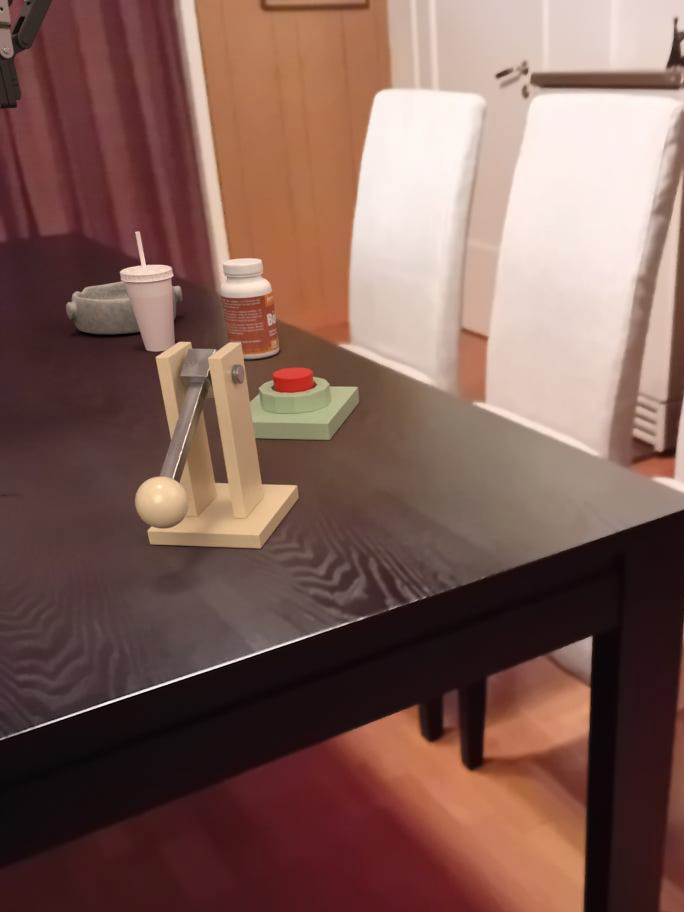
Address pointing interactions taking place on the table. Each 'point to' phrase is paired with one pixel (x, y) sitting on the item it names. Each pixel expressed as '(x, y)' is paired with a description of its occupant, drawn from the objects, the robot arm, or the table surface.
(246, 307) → the pill bottle
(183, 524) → the switch
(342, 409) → the stop panel
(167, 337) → the smoothie
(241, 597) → the table surface
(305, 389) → the stop button
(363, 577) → the table surface
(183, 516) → the switch lever
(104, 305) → the dish
